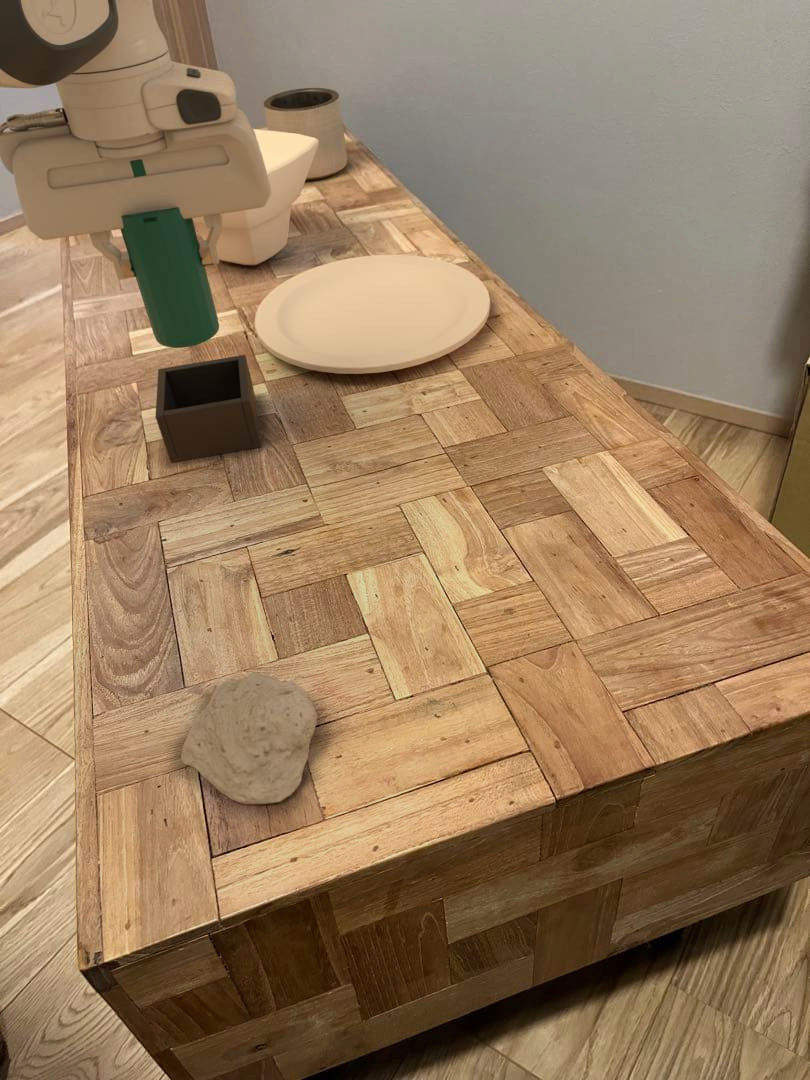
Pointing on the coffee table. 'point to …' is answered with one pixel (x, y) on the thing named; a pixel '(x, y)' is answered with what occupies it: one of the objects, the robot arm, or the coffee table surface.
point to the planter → (311, 125)
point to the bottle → (170, 274)
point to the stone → (253, 739)
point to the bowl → (267, 227)
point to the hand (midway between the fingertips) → (170, 269)
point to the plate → (372, 314)
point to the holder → (207, 408)
